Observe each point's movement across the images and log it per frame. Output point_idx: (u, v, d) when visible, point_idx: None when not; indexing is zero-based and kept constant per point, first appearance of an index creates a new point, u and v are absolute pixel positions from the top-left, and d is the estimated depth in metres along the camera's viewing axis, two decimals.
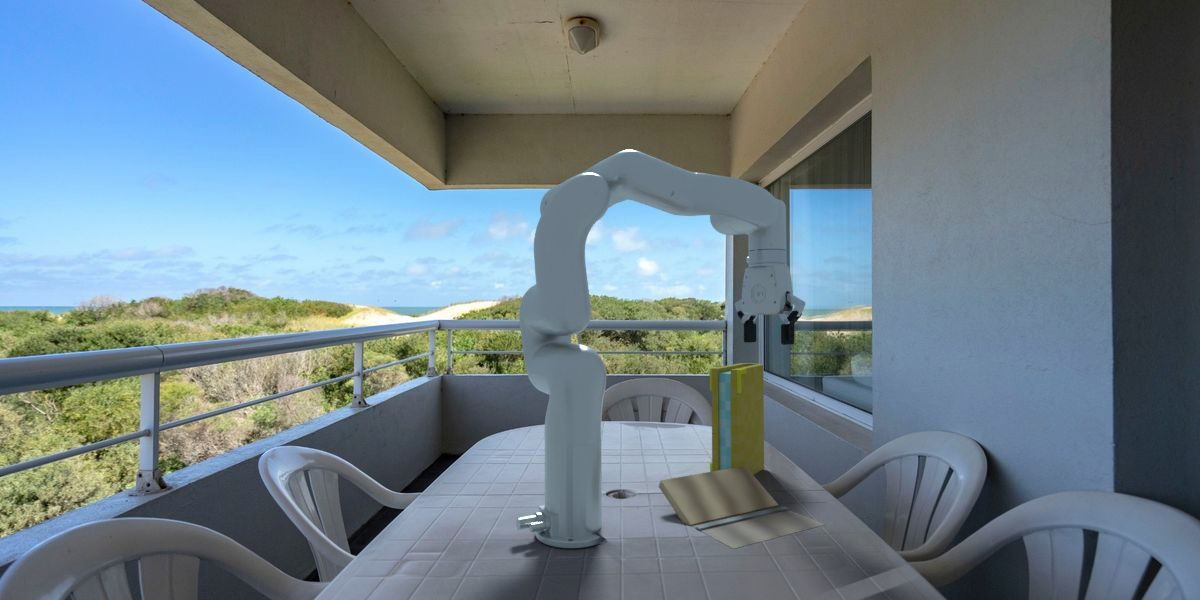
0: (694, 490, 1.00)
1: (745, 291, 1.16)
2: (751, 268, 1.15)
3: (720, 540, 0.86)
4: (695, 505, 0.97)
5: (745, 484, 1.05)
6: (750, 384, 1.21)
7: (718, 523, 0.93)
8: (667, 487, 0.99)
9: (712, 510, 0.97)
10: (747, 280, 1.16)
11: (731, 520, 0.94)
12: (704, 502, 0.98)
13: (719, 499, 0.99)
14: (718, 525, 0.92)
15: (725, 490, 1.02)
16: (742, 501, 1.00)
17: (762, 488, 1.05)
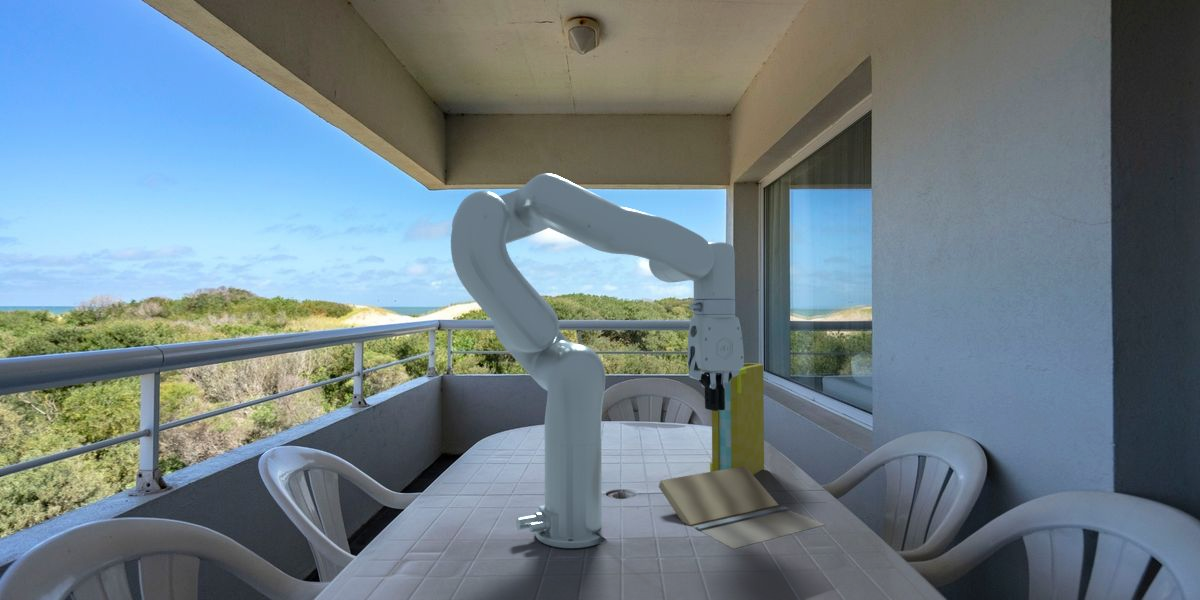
0: (694, 490, 1.00)
1: (708, 345, 0.99)
2: (715, 319, 1.00)
3: (720, 540, 0.86)
4: (695, 505, 0.97)
5: (745, 484, 1.05)
6: (750, 384, 1.21)
7: (718, 523, 0.93)
8: (667, 487, 0.99)
9: (712, 510, 0.97)
10: (710, 332, 0.99)
11: (731, 520, 0.94)
12: (704, 502, 0.98)
13: (719, 499, 0.99)
14: (718, 525, 0.92)
15: (725, 490, 1.02)
16: (742, 501, 1.00)
17: (762, 488, 1.05)
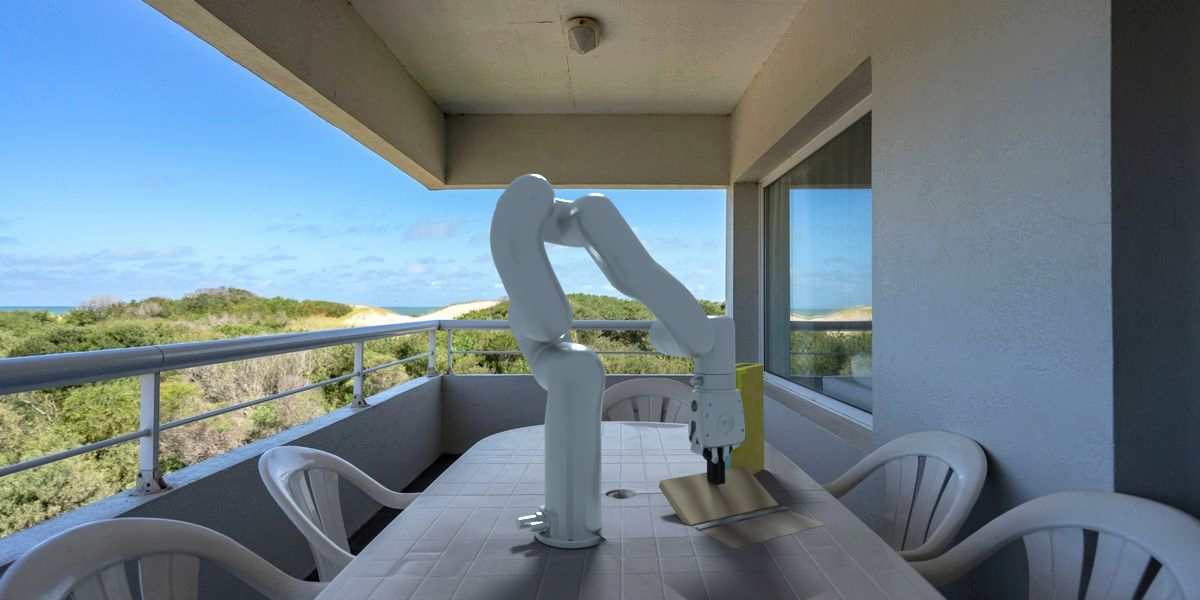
0: (694, 490, 1.00)
1: (709, 421, 0.99)
2: (715, 394, 1.00)
3: (720, 540, 0.86)
4: (695, 505, 0.97)
5: (745, 484, 1.05)
6: (750, 384, 1.21)
7: (718, 523, 0.93)
8: (667, 487, 0.99)
9: (712, 510, 0.97)
10: (711, 408, 0.99)
11: (731, 520, 0.94)
12: (704, 502, 0.98)
13: (719, 499, 0.99)
14: (718, 525, 0.92)
15: (725, 490, 1.02)
16: (742, 501, 1.00)
17: (762, 488, 1.05)
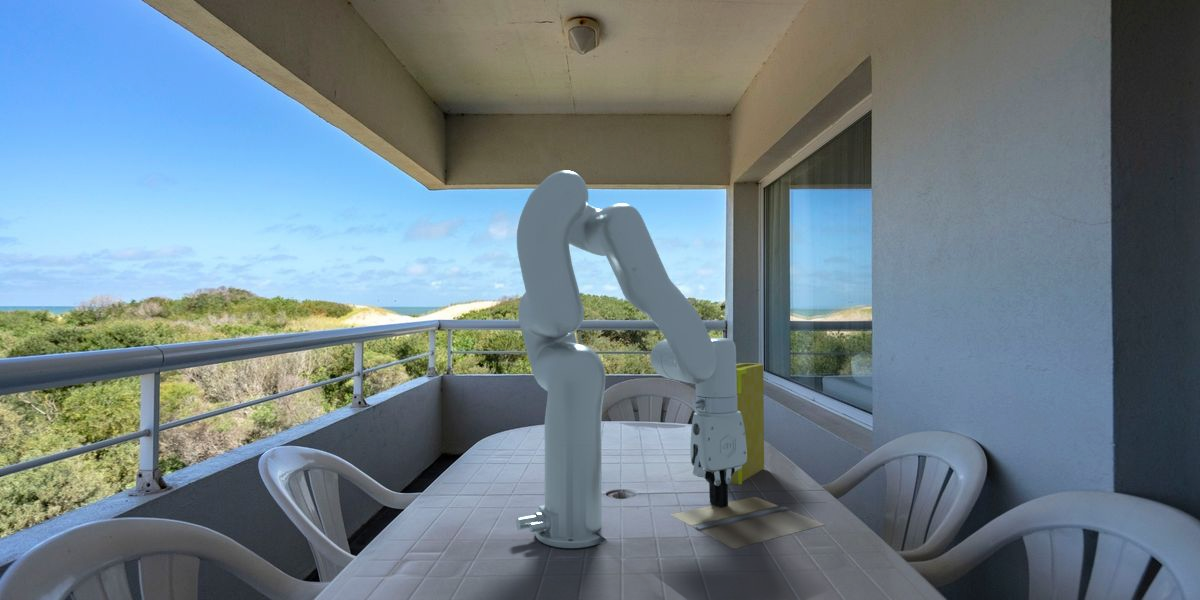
0: None
1: (711, 445, 0.99)
2: (717, 417, 1.00)
3: (720, 540, 0.86)
4: (693, 515, 0.97)
5: (742, 500, 1.05)
6: (750, 384, 1.21)
7: (718, 523, 0.93)
8: None
9: (711, 516, 0.97)
10: (713, 431, 0.99)
11: (731, 520, 0.94)
12: (703, 513, 0.98)
13: (717, 510, 1.00)
14: (718, 525, 0.92)
15: None
16: (741, 508, 1.01)
17: (760, 499, 1.05)
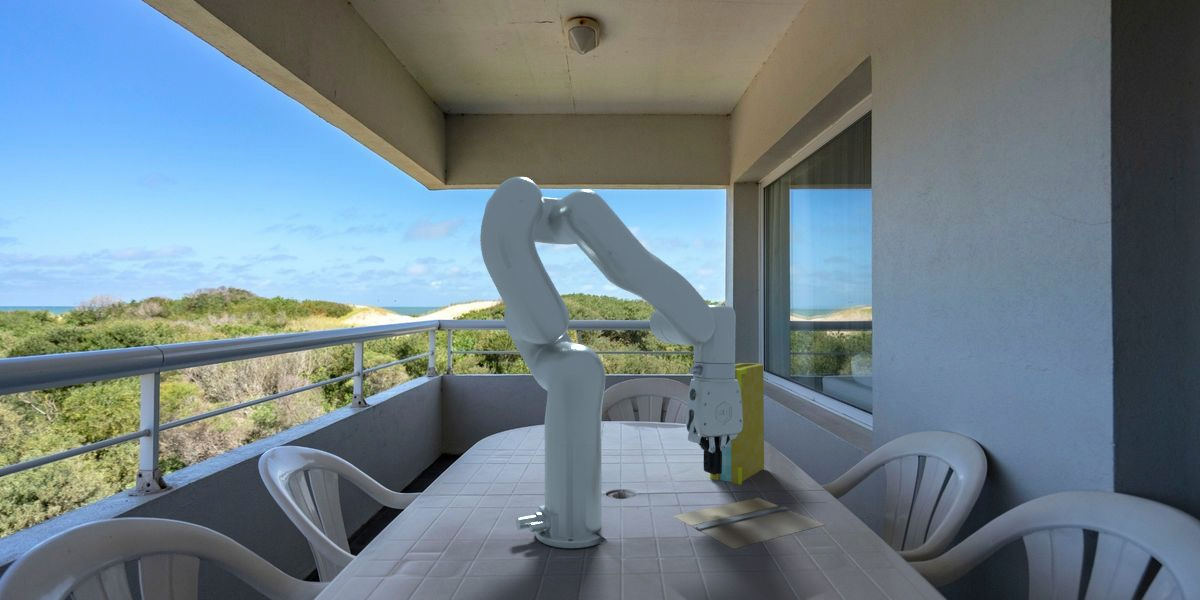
0: None
1: (707, 410, 0.99)
2: (714, 383, 1.00)
3: (720, 540, 0.86)
4: (693, 515, 0.97)
5: None
6: (750, 384, 1.21)
7: (718, 523, 0.93)
8: None
9: (711, 516, 0.97)
10: (710, 397, 0.99)
11: (731, 520, 0.94)
12: (703, 513, 0.98)
13: (717, 510, 1.00)
14: (718, 525, 0.92)
15: (722, 505, 1.03)
16: (741, 508, 1.01)
17: (760, 499, 1.05)
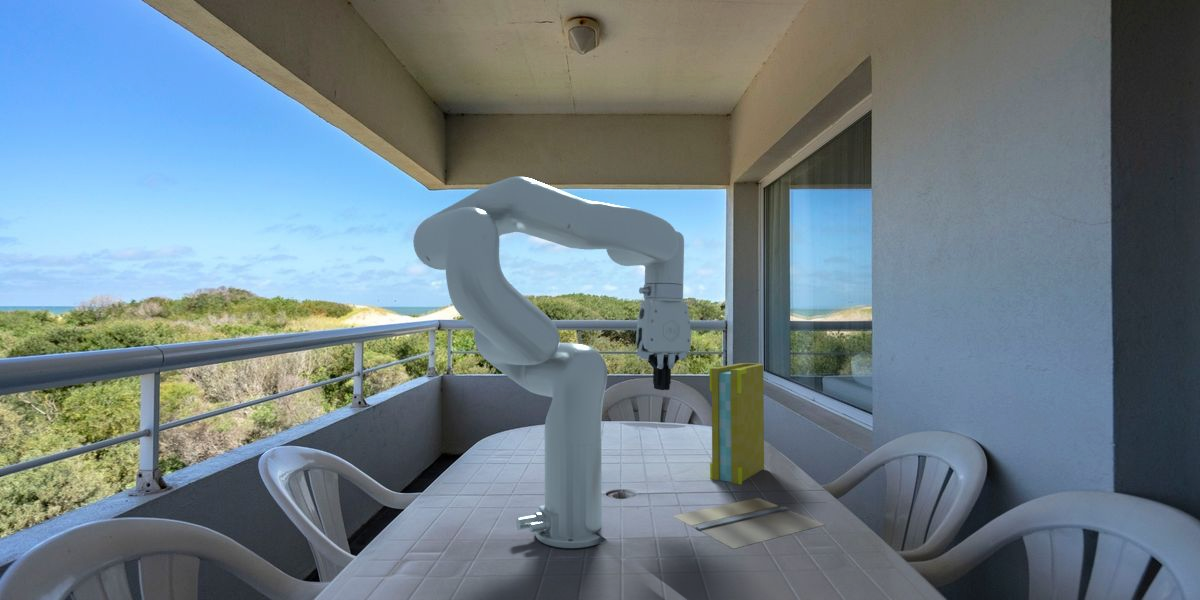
0: None
1: (654, 326, 1.04)
2: (662, 302, 1.05)
3: (720, 540, 0.86)
4: (693, 515, 0.97)
5: None
6: (750, 384, 1.21)
7: (718, 523, 0.93)
8: None
9: (711, 516, 0.97)
10: (657, 314, 1.05)
11: (731, 520, 0.94)
12: (703, 513, 0.98)
13: (717, 510, 1.00)
14: (718, 525, 0.92)
15: (722, 505, 1.03)
16: (741, 508, 1.01)
17: (760, 499, 1.05)
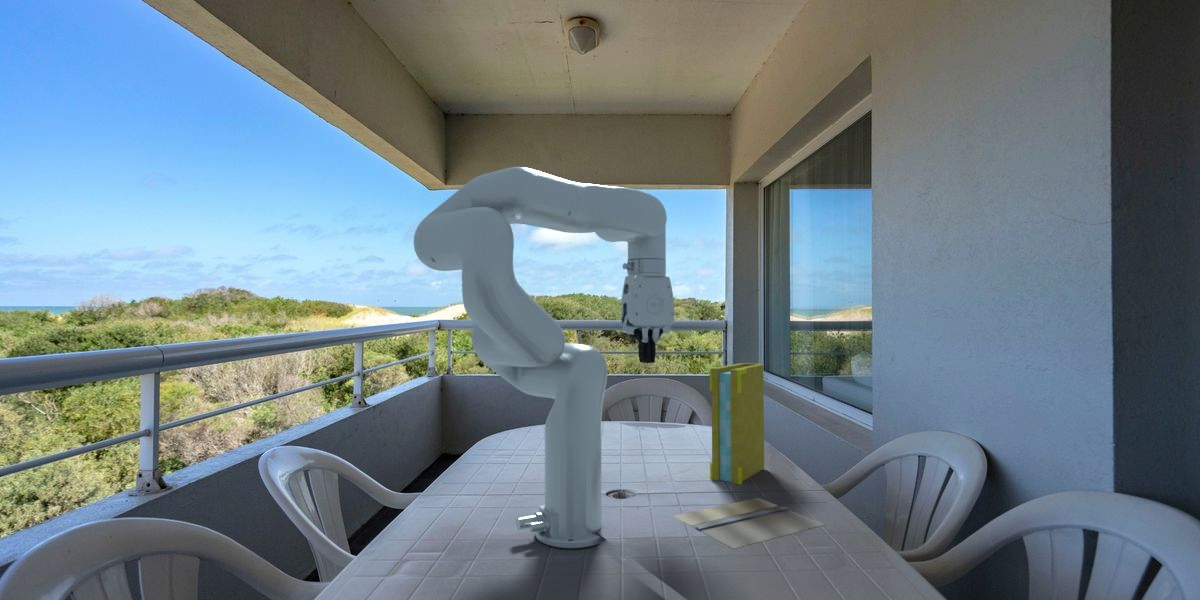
0: None
1: (638, 301, 1.06)
2: (645, 277, 1.07)
3: (720, 540, 0.86)
4: (693, 515, 0.97)
5: None
6: (750, 384, 1.21)
7: (718, 523, 0.93)
8: None
9: (711, 516, 0.97)
10: (641, 289, 1.07)
11: (731, 520, 0.94)
12: (703, 513, 0.98)
13: (717, 510, 1.00)
14: (718, 525, 0.92)
15: (722, 505, 1.03)
16: (741, 508, 1.01)
17: (760, 499, 1.05)
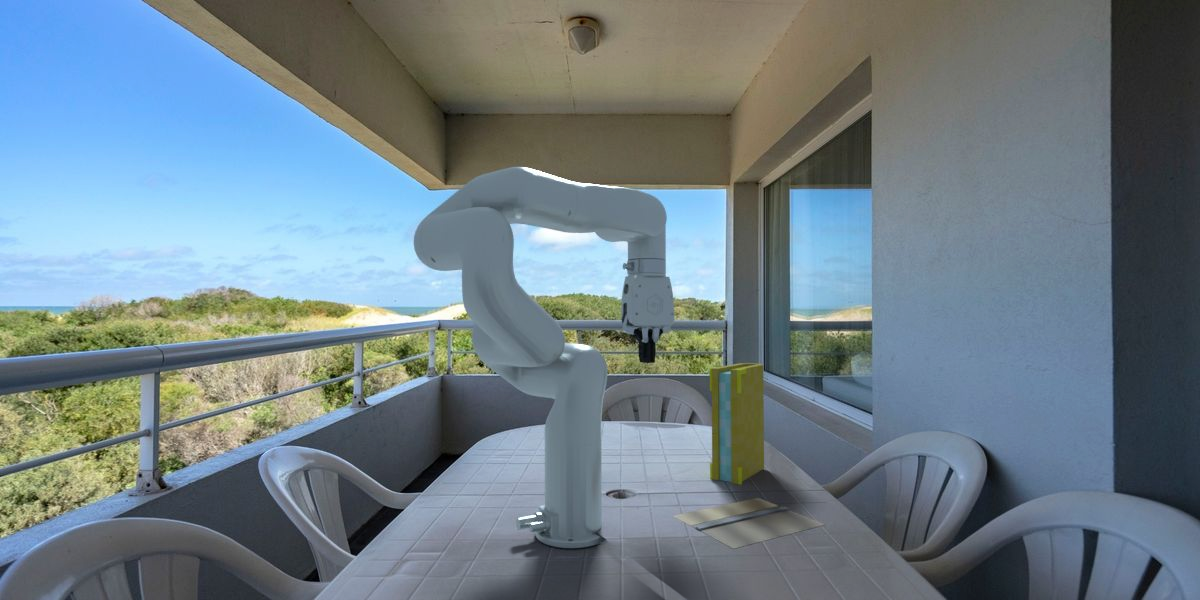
0: None
1: (638, 301, 1.06)
2: (645, 277, 1.07)
3: (720, 540, 0.86)
4: (693, 515, 0.97)
5: None
6: (750, 384, 1.21)
7: (718, 523, 0.93)
8: None
9: (711, 516, 0.97)
10: (641, 289, 1.07)
11: (731, 520, 0.94)
12: (703, 513, 0.98)
13: (717, 510, 1.00)
14: (718, 525, 0.92)
15: (722, 505, 1.03)
16: (741, 508, 1.01)
17: (760, 499, 1.05)
